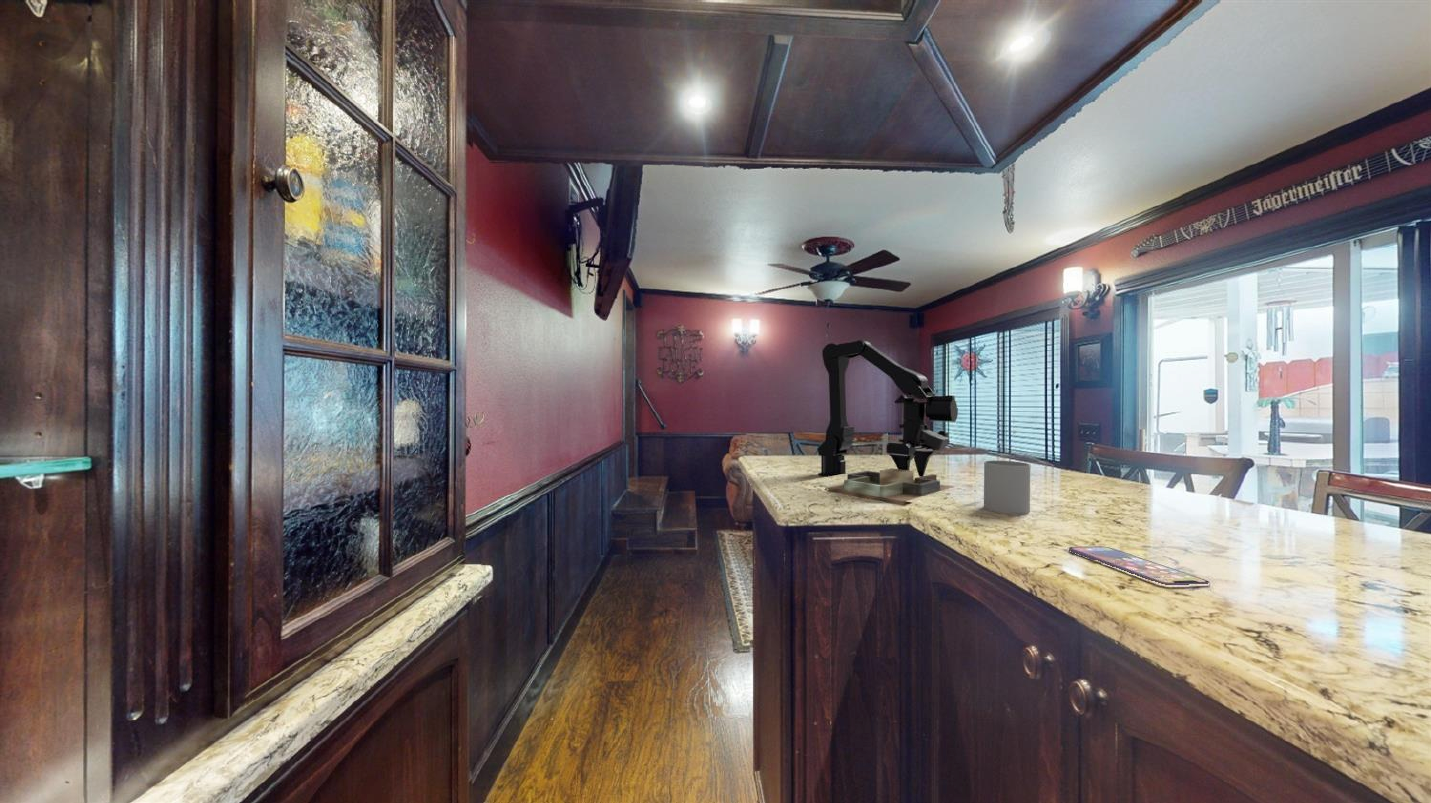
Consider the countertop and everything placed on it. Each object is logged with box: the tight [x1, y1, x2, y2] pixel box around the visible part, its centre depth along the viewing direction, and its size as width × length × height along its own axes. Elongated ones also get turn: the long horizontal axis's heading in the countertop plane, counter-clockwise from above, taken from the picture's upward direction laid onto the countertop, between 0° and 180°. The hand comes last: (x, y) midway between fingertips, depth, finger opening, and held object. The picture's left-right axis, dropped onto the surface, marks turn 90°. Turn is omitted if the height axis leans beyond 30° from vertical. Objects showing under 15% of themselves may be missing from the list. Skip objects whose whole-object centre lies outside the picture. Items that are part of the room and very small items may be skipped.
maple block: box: [879, 467, 915, 485], centre depth 123 cm, size 6×6×4 cm
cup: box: [983, 460, 1031, 516], centre depth 102 cm, size 8×8×10 cm
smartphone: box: [1068, 546, 1210, 585], centre depth 69 cm, size 1×7×15 cm
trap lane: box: [827, 470, 954, 507], centre depth 122 cm, size 20×26×4 cm
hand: (913, 478), depth 129 cm, fingers open, 8 cm apart
